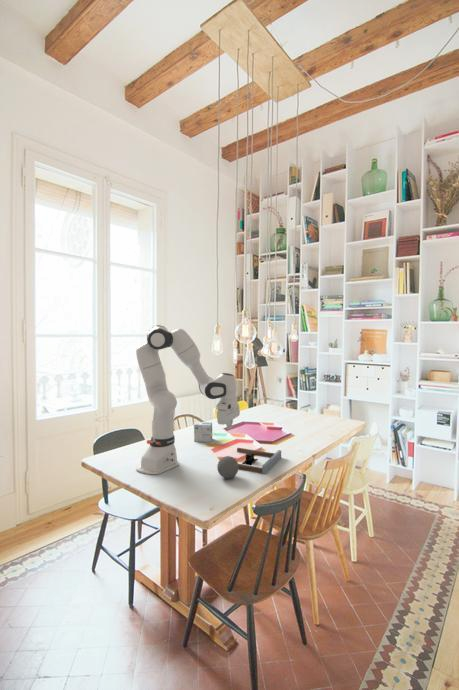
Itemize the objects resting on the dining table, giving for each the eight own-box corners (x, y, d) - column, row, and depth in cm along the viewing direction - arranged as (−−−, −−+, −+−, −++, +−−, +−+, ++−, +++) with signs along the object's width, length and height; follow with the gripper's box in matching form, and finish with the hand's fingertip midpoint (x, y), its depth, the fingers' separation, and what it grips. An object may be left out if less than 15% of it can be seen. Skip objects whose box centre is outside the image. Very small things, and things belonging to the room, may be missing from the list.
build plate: (251, 468, 186) (251, 459, 185) (238, 465, 189) (238, 456, 189) (260, 459, 197) (260, 451, 196) (248, 457, 200) (248, 449, 200)
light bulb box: (212, 438, 232) (212, 421, 231) (211, 442, 225) (210, 424, 224) (196, 438, 233) (195, 421, 232) (193, 441, 226) (193, 424, 225)
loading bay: (265, 474, 176) (265, 466, 176) (218, 465, 188) (218, 457, 187) (281, 457, 198) (281, 450, 197) (238, 450, 209) (238, 443, 209)
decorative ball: (241, 480, 170) (241, 459, 169) (221, 483, 167) (221, 462, 166) (234, 472, 179) (233, 452, 179) (214, 475, 176) (214, 454, 175)
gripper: (232, 398, 207) (232, 422, 208) (214, 406, 189) (215, 433, 190) (242, 399, 204) (242, 423, 205) (225, 407, 186) (226, 434, 187)
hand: (229, 428), depth 198 cm, fingers closed
